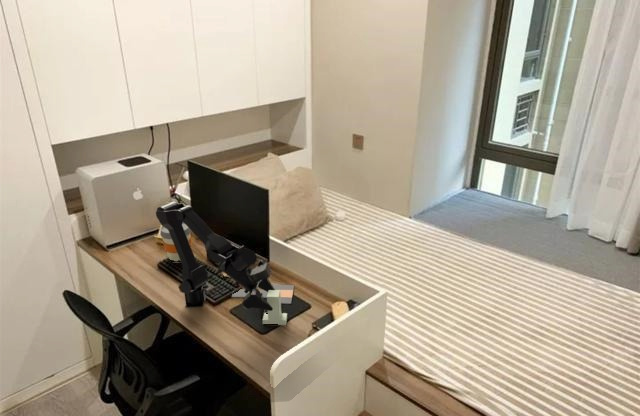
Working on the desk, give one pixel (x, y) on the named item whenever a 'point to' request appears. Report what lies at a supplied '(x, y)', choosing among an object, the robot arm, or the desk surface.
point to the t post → (274, 309)
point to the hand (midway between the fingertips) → (274, 301)
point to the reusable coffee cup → (169, 243)
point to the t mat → (285, 290)
